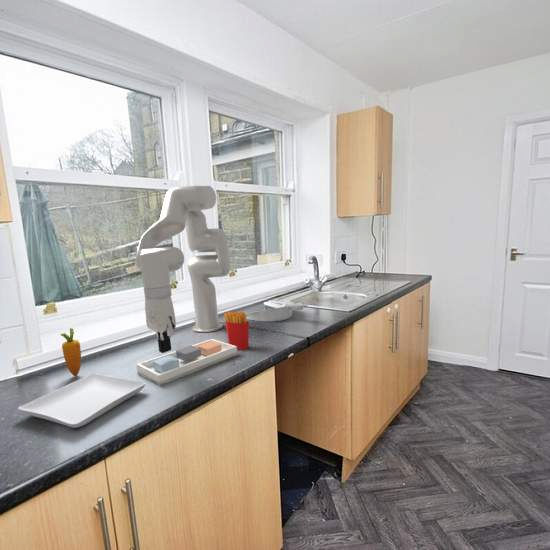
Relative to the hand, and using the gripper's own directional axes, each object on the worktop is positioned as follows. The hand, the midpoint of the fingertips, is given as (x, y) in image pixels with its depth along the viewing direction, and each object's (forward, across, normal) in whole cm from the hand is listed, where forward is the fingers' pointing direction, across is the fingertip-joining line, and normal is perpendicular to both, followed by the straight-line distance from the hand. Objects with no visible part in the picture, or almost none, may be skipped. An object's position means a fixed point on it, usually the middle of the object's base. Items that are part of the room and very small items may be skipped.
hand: (165, 351), depth 105 cm
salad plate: (+7, +2, -24) cm, 25 cm away
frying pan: (+8, -10, +62) cm, 64 cm away
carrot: (+7, -21, -20) cm, 30 cm away
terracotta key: (+5, 0, +15) cm, 16 cm away
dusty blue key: (+5, 0, -1) cm, 5 cm away
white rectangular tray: (+7, 0, +7) cm, 10 cm away
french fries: (+7, +2, +26) cm, 27 cm away
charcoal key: (+4, 0, +7) cm, 9 cm away
